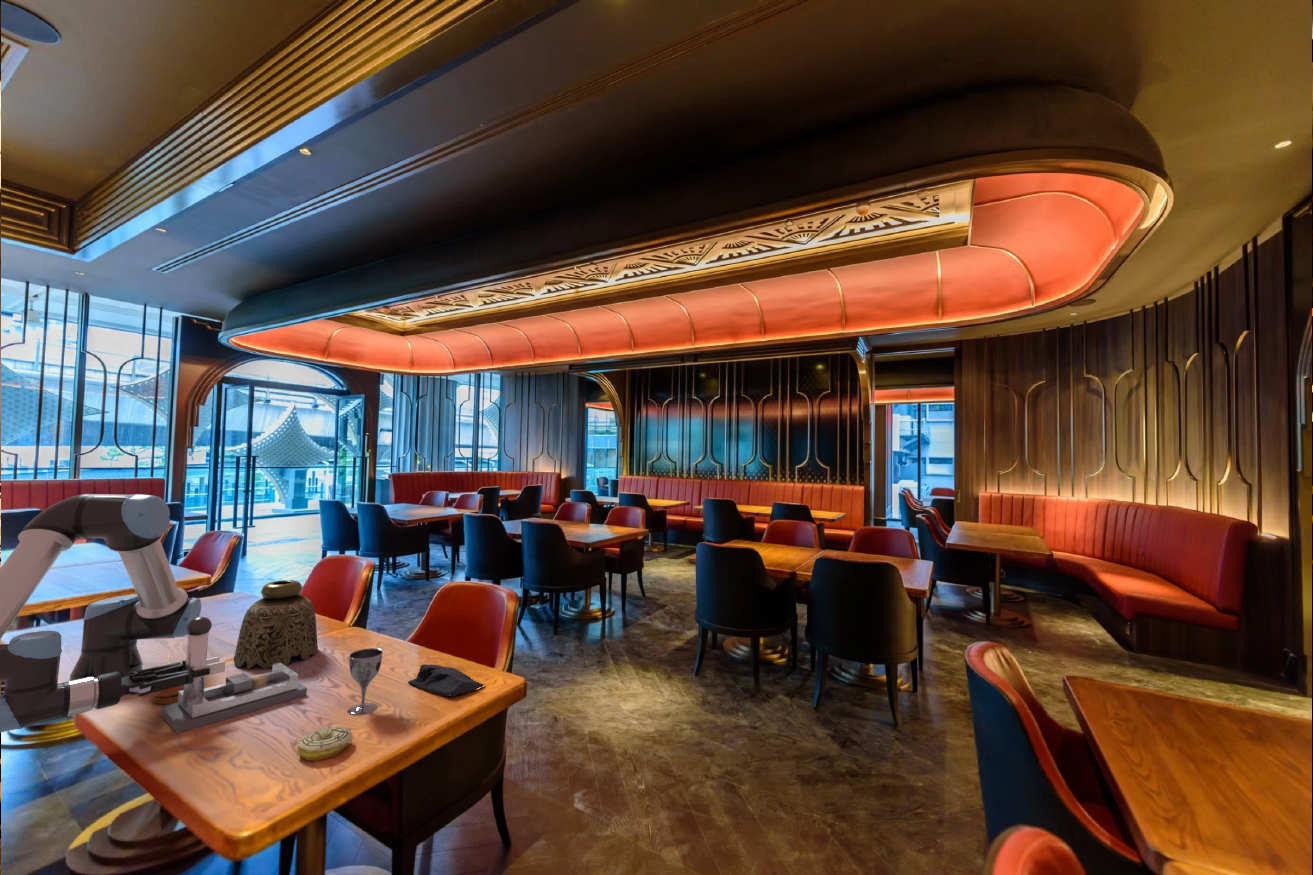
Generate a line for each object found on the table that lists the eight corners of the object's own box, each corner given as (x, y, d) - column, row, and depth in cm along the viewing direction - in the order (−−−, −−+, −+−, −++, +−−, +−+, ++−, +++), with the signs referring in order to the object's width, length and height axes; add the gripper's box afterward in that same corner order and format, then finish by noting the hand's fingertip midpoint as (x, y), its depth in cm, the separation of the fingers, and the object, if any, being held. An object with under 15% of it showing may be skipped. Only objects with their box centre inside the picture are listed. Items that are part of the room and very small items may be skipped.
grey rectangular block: (224, 695, 143) (226, 677, 143) (242, 690, 146) (243, 672, 146) (233, 703, 139) (234, 683, 139) (251, 698, 142) (252, 679, 142)
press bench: (161, 714, 135) (161, 706, 135) (285, 680, 158) (286, 674, 158) (176, 733, 127) (177, 725, 127) (306, 695, 149) (306, 687, 149)
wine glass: (341, 717, 137) (345, 659, 138) (350, 703, 145) (354, 649, 146) (374, 714, 139) (378, 657, 140) (382, 701, 147) (385, 647, 148)
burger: (186, 703, 142) (188, 686, 142) (143, 707, 139) (145, 689, 139) (204, 688, 151) (206, 672, 152) (165, 692, 148) (166, 675, 149)
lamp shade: (293, 640, 192) (298, 572, 194) (332, 652, 182) (337, 580, 184) (218, 661, 171) (224, 584, 173) (257, 675, 161) (263, 594, 163)
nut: (246, 691, 146) (247, 677, 146) (263, 687, 149) (264, 672, 149) (251, 695, 143) (252, 681, 144) (268, 691, 147) (269, 676, 147)
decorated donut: (361, 745, 125) (362, 729, 125) (317, 768, 115) (319, 750, 115) (331, 735, 129) (332, 719, 129) (286, 756, 119) (288, 739, 119)
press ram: (172, 704, 136) (180, 614, 138) (279, 676, 156) (285, 597, 157) (186, 719, 129) (194, 624, 130) (297, 688, 148) (303, 605, 150)
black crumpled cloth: (443, 705, 147) (444, 688, 147) (404, 683, 160) (405, 668, 161) (489, 688, 159) (490, 672, 160) (449, 669, 172) (450, 654, 173)
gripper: (86, 698, 125) (210, 670, 144) (100, 720, 115) (231, 686, 134) (89, 666, 126) (212, 642, 145) (103, 686, 116) (233, 657, 135)
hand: (221, 663), depth 140 cm, fingers closed on press ram, 4 cm apart
